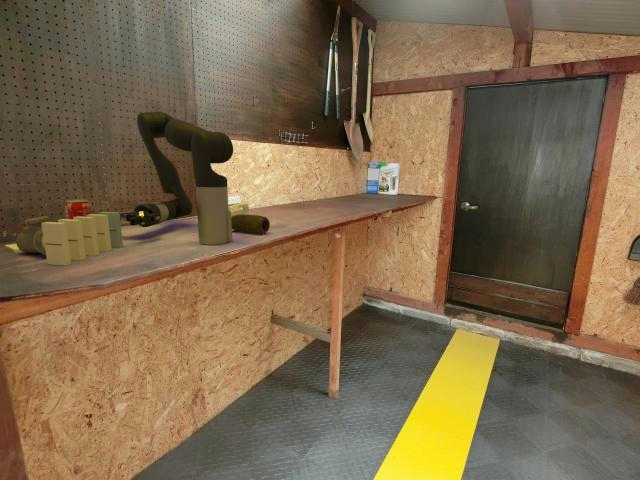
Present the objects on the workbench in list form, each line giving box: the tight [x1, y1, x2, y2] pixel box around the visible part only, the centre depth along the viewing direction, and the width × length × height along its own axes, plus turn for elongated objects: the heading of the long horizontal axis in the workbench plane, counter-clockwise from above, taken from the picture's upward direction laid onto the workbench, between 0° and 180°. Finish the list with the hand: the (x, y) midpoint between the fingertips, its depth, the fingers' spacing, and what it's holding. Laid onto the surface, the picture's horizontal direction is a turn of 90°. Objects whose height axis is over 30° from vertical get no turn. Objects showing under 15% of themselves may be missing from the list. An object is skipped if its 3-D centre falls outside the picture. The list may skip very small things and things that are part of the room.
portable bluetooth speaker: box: [231, 214, 271, 235], centre depth 127 cm, size 15×7×7 cm, turn 66°
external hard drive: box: [4, 243, 24, 254], centre depth 102 cm, size 2×8×12 cm
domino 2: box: [57, 218, 87, 261], centre depth 90 cm, size 2×5×10 cm, turn 81°
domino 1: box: [41, 221, 72, 266], centre depth 85 cm, size 2×5×10 cm, turn 81°
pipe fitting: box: [15, 215, 51, 256], centre depth 94 cm, size 12×8×10 cm
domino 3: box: [73, 216, 100, 257], centre depth 94 cm, size 2×5×10 cm, turn 81°
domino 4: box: [87, 213, 113, 253], centre depth 98 cm, size 2×5×10 cm, turn 81°
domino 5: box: [99, 211, 124, 249], centre depth 103 cm, size 2×5×10 cm, turn 82°
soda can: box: [64, 199, 93, 219], centre depth 113 cm, size 7×7×12 cm
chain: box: [228, 202, 250, 217], centre depth 152 cm, size 30×6×6 cm, turn 159°
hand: (117, 221), depth 105 cm, fingers open, 8 cm apart
